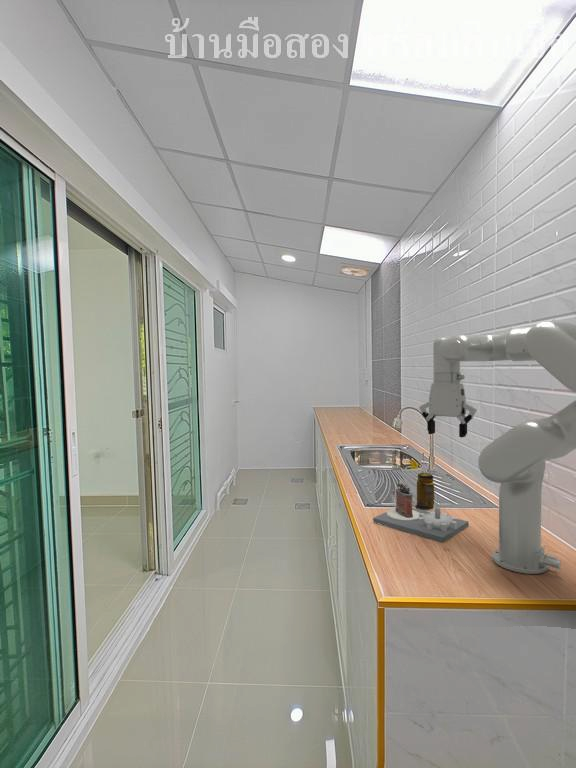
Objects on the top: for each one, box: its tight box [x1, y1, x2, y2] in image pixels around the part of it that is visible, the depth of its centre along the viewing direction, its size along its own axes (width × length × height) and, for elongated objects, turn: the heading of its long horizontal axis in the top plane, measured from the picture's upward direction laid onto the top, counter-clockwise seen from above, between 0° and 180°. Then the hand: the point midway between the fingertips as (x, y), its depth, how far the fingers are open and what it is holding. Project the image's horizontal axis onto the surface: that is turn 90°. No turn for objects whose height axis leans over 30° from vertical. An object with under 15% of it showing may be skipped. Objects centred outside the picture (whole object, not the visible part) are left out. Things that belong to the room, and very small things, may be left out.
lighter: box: [395, 482, 414, 518], centre depth 141 cm, size 8×3×10 cm, turn 16°
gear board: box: [372, 507, 470, 543], centre depth 137 cm, size 24×18×6 cm
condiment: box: [413, 472, 437, 512], centre depth 154 cm, size 7×8×12 cm
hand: (446, 435), depth 128 cm, fingers open, 9 cm apart
